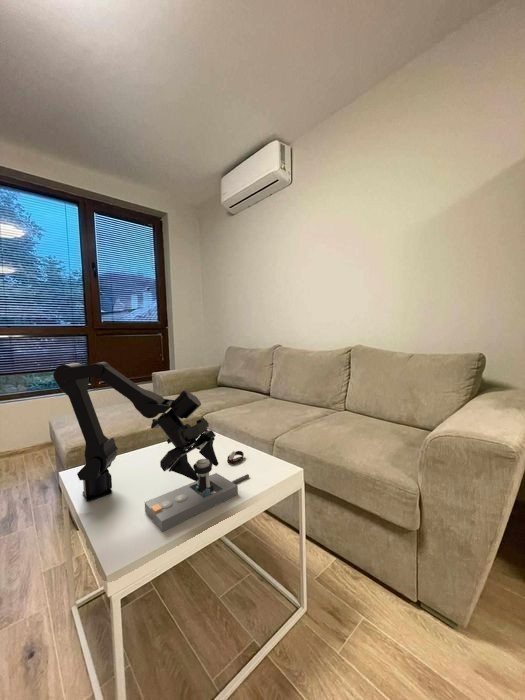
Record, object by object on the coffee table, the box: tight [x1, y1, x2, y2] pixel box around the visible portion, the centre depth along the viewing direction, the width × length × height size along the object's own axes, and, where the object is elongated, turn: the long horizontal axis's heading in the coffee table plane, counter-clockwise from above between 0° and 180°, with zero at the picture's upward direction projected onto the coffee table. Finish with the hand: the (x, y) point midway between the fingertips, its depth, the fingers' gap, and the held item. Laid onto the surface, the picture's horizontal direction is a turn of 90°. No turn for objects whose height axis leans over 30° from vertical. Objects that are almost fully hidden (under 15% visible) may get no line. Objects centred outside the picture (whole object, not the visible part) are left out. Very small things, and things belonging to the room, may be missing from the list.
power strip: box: [144, 472, 250, 533], centre depth 80 cm, size 30×11×3 cm, turn 132°
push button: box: [192, 458, 216, 498], centre depth 79 cm, size 7×5×10 cm
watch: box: [226, 450, 244, 465], centre depth 103 cm, size 8×5×4 cm, turn 148°
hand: (208, 472), depth 79 cm, fingers open, 9 cm apart
